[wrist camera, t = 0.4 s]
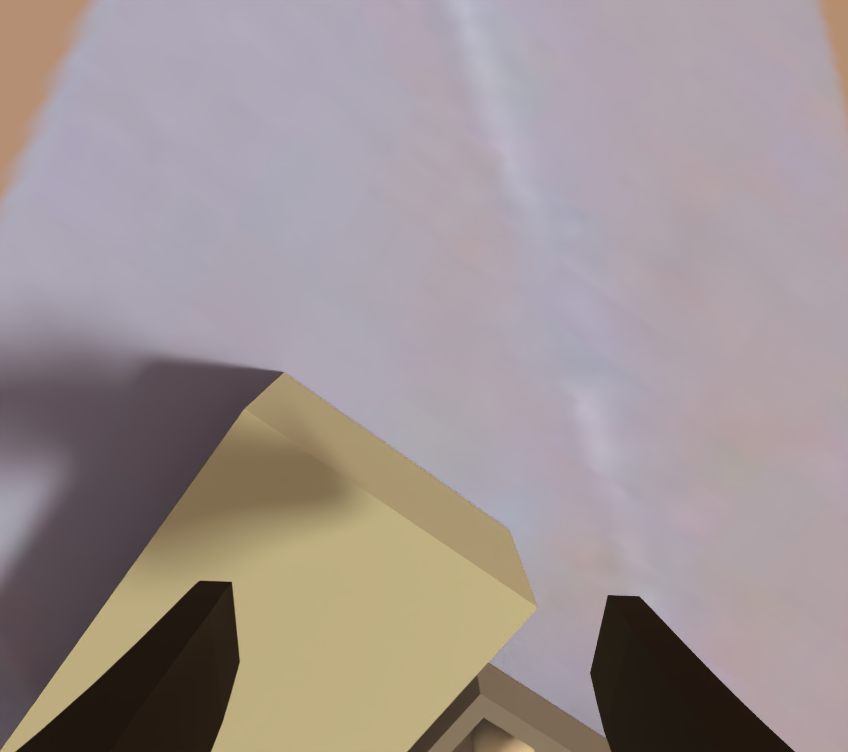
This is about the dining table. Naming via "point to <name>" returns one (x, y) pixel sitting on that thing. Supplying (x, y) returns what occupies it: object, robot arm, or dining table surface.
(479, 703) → the tray
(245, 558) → the bench
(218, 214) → the dining table surface
